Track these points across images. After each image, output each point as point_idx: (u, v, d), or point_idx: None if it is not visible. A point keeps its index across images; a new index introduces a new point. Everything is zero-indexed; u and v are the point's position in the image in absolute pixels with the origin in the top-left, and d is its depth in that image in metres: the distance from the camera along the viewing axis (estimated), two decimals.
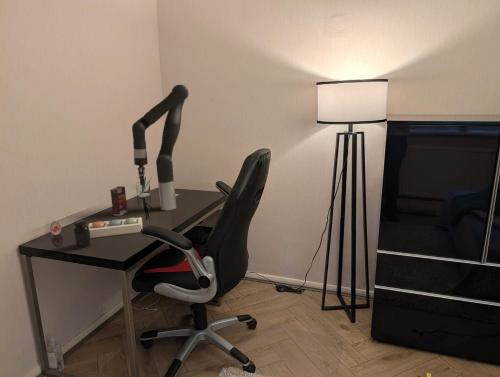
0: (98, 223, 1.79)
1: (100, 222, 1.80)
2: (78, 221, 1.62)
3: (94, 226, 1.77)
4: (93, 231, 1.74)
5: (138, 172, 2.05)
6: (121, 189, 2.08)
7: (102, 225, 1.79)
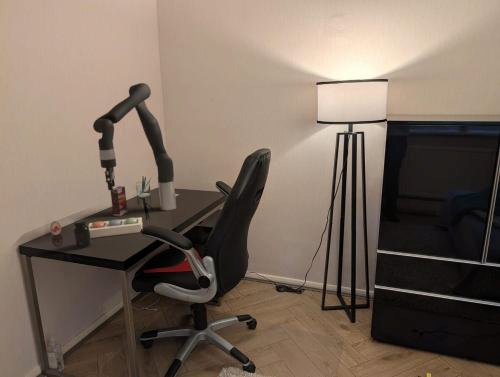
0: (98, 223, 1.79)
1: (100, 222, 1.80)
2: (78, 221, 1.62)
3: (94, 226, 1.77)
4: (93, 231, 1.74)
5: None
6: (121, 189, 2.08)
7: (102, 225, 1.79)
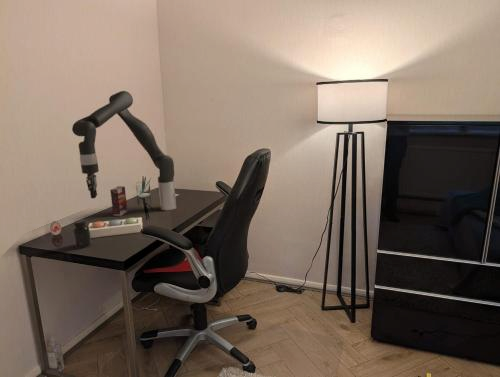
0: (98, 223, 1.79)
1: (100, 222, 1.80)
2: (78, 221, 1.62)
3: (94, 226, 1.77)
4: (93, 231, 1.74)
5: None
6: (121, 189, 2.08)
7: (102, 225, 1.79)
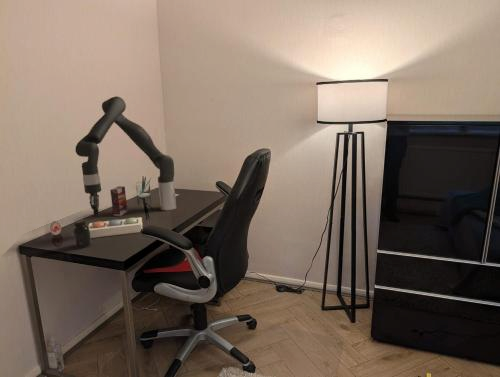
0: (98, 223, 1.79)
1: (100, 222, 1.80)
2: (78, 221, 1.62)
3: (94, 226, 1.77)
4: (93, 231, 1.74)
5: None
6: (121, 189, 2.08)
7: (102, 225, 1.79)
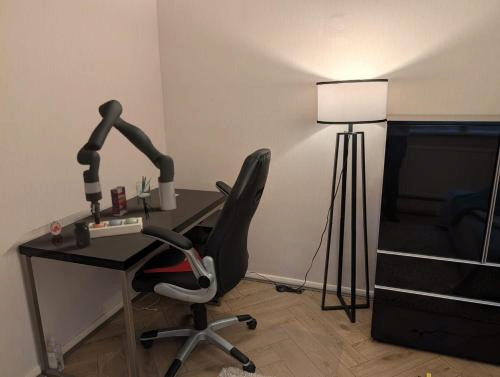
0: (98, 224, 1.79)
1: (100, 223, 1.80)
2: (78, 221, 1.62)
3: (94, 227, 1.77)
4: (93, 231, 1.74)
5: None
6: (121, 189, 2.08)
7: (102, 226, 1.79)
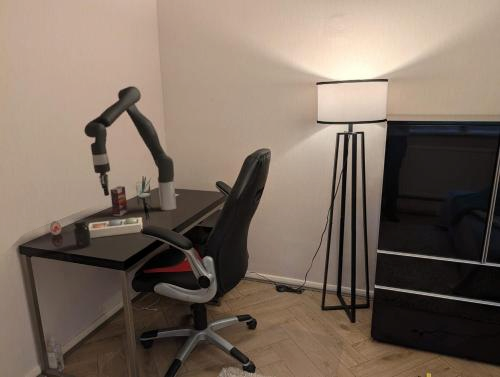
0: (98, 226, 1.79)
1: (100, 225, 1.81)
2: (78, 221, 1.62)
3: None
4: (93, 231, 1.74)
5: None
6: (121, 189, 2.08)
7: None
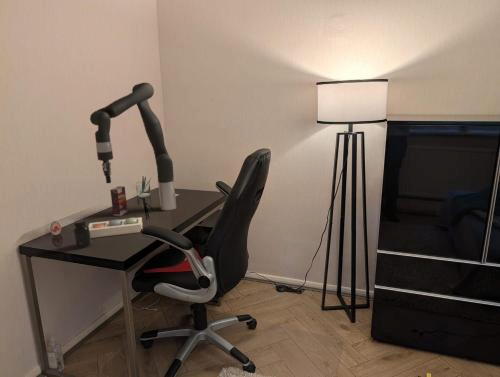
0: (98, 226, 1.79)
1: (100, 225, 1.81)
2: (78, 221, 1.62)
3: None
4: (93, 231, 1.74)
5: None
6: (121, 189, 2.08)
7: None
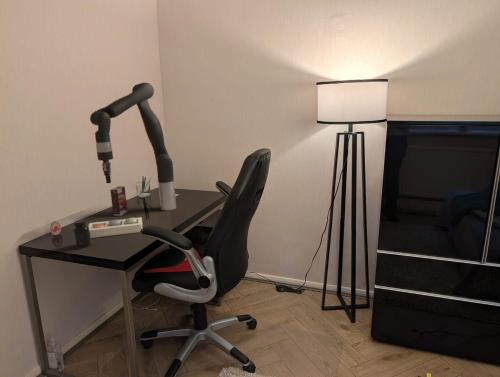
0: (98, 226, 1.79)
1: (100, 225, 1.81)
2: (78, 221, 1.62)
3: None
4: (93, 231, 1.74)
5: None
6: (121, 189, 2.08)
7: None
